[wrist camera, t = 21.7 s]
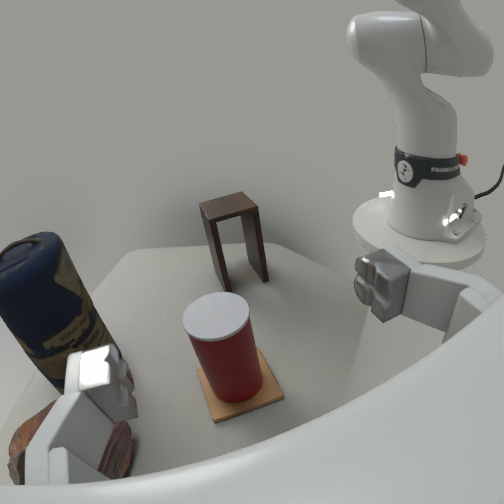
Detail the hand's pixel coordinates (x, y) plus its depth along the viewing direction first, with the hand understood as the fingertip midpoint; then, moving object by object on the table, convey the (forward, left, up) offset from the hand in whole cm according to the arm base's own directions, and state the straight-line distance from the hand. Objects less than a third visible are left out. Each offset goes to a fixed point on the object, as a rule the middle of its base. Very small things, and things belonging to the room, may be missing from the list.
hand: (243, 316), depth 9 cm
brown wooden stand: (-6, -28, -19) cm, 34 cm away
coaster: (0, -11, -19) cm, 22 cm away
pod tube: (0, -11, -18) cm, 21 cm away
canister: (+16, -18, -19) cm, 31 cm away
